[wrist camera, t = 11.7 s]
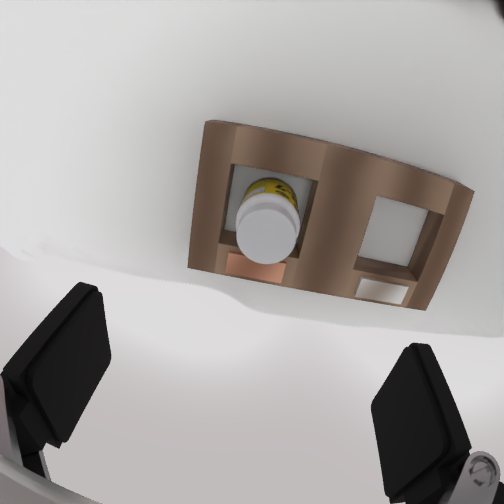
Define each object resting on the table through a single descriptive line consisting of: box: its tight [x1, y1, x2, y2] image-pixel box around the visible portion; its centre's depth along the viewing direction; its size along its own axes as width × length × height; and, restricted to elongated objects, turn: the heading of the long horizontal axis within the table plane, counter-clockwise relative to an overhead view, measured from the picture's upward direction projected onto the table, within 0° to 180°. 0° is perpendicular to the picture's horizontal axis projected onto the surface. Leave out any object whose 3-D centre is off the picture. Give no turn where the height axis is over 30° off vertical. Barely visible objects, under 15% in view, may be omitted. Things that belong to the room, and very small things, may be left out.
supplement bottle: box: [235, 177, 300, 264], centre depth 25 cm, size 5×5×8 cm
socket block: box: [188, 120, 474, 311], centre depth 27 cm, size 24×13×3 cm, turn 80°
